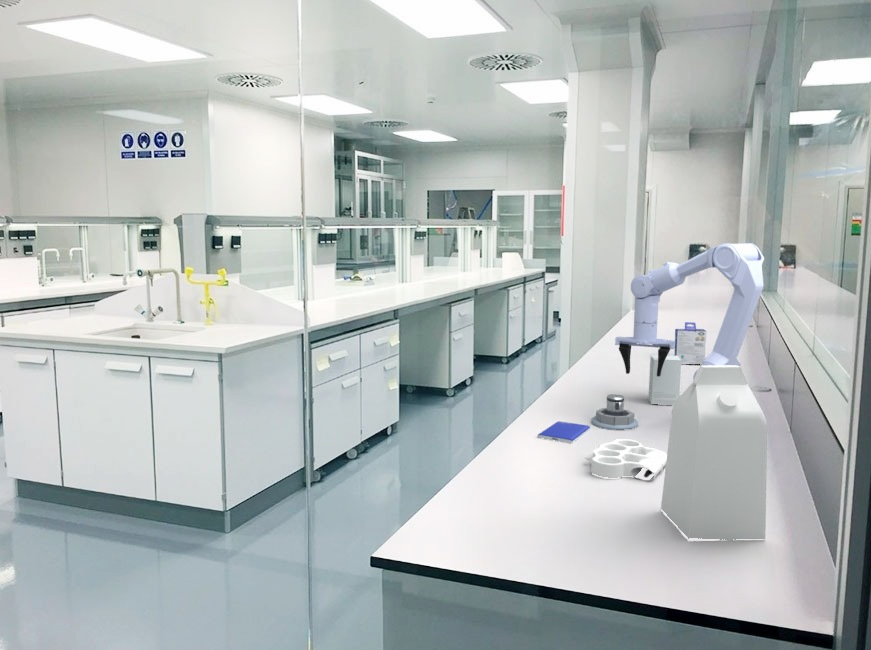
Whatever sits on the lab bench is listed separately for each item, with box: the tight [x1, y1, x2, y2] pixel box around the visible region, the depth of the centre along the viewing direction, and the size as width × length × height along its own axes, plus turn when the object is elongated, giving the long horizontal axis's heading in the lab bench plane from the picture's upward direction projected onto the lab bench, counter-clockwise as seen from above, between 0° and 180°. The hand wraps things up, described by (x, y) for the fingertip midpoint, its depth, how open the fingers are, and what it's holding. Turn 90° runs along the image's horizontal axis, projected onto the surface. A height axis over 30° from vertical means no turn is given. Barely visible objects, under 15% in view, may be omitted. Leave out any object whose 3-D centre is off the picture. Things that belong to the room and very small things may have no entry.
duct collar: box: [591, 407, 639, 431], centre depth 170 cm, size 11×11×3 cm
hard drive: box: [537, 421, 591, 444], centre depth 161 cm, size 2×8×12 cm
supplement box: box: [647, 354, 682, 407], centre depth 190 cm, size 7×7×13 cm
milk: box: [660, 365, 768, 540], centre depth 110 cm, size 12×12×26 cm
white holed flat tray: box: [584, 438, 667, 481], centre depth 139 cm, size 3×18×15 cm
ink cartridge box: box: [673, 321, 707, 366], centre depth 245 cm, size 10×6×14 cm, turn 81°
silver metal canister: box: [606, 393, 625, 416], centre depth 169 cm, size 4×5×6 cm
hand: (643, 374), depth 179 cm, fingers open, 7 cm apart
